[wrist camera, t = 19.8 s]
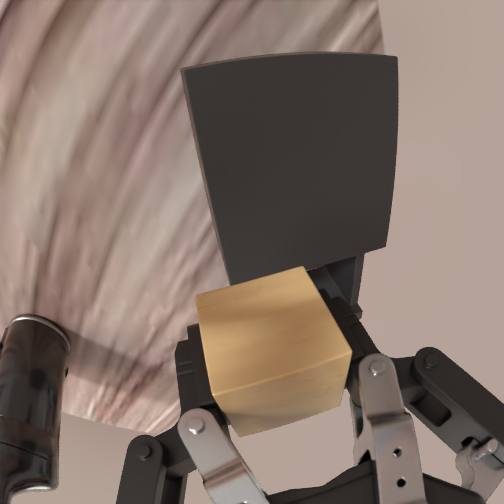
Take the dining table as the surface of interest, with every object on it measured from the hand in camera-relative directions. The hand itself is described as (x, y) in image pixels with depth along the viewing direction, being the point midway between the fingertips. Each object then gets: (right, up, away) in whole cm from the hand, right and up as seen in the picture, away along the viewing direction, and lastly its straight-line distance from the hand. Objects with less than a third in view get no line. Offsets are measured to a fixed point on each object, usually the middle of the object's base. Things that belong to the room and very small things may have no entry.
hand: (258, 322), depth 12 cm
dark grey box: (+1, +13, +13) cm, 18 cm away
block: (0, 0, 0) cm, 0 cm away
